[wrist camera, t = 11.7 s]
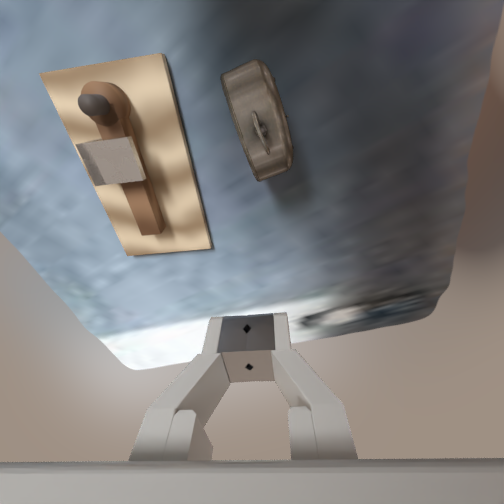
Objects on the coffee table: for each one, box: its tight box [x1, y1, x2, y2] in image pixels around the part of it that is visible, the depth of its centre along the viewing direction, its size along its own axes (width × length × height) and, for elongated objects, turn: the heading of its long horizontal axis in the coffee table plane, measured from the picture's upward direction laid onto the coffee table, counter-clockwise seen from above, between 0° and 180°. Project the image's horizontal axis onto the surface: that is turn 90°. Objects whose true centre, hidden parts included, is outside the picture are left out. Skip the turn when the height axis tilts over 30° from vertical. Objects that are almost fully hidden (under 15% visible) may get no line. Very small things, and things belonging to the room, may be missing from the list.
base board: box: [39, 53, 212, 256], centre depth 35 cm, size 26×15×1 cm, turn 7°
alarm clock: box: [220, 59, 293, 182], centre depth 24 cm, size 11×5×16 cm, turn 20°
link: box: [78, 81, 166, 236], centre depth 31 cm, size 19×4×5 cm, turn 6°
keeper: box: [75, 136, 146, 186], centre depth 31 cm, size 5×6×4 cm
